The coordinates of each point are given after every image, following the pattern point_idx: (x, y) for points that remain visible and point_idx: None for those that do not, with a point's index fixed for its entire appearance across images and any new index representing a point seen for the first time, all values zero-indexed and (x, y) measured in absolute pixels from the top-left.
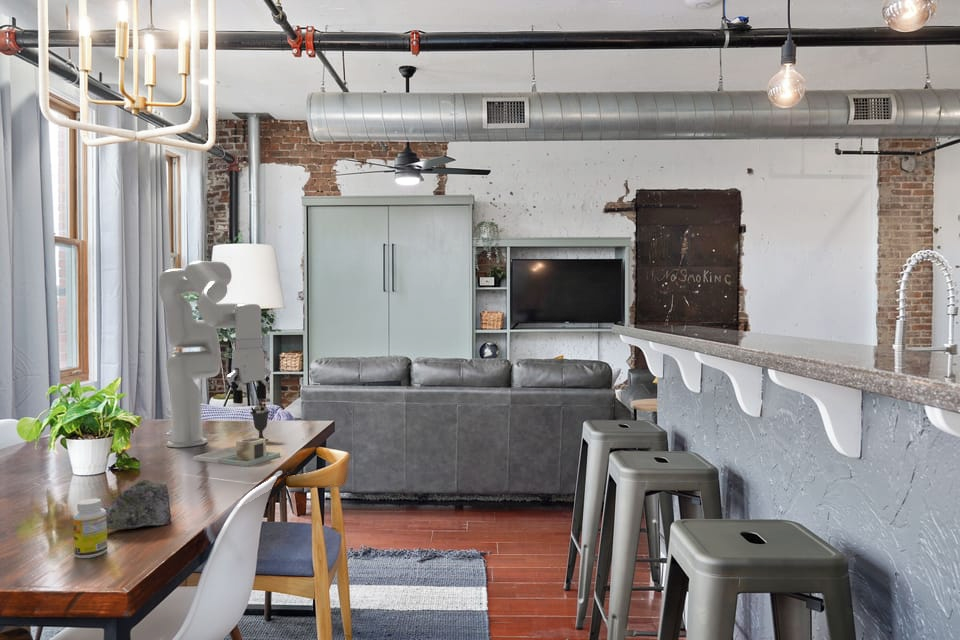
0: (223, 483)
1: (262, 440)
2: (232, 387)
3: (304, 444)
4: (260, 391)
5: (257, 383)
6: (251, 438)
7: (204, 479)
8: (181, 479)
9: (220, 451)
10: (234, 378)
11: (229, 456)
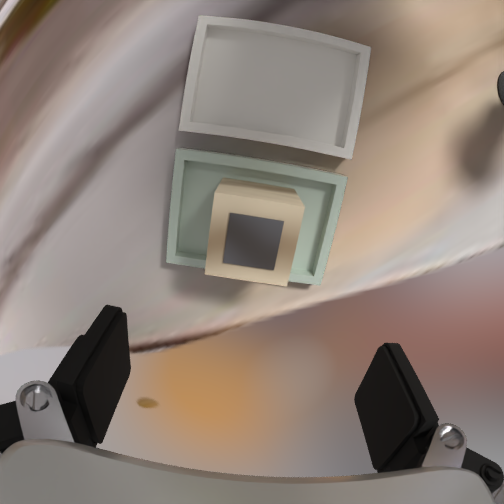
0: (43, 288)
1: (268, 282)
2: (10, 417)
3: (479, 251)
4: (381, 416)
5: (429, 447)
6: (274, 231)
7: (43, 223)
8: (25, 165)
9: (320, 43)
10: (62, 488)
11: (236, 137)
